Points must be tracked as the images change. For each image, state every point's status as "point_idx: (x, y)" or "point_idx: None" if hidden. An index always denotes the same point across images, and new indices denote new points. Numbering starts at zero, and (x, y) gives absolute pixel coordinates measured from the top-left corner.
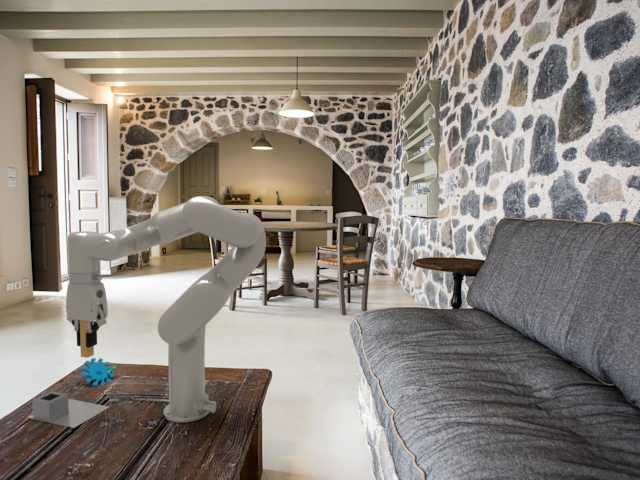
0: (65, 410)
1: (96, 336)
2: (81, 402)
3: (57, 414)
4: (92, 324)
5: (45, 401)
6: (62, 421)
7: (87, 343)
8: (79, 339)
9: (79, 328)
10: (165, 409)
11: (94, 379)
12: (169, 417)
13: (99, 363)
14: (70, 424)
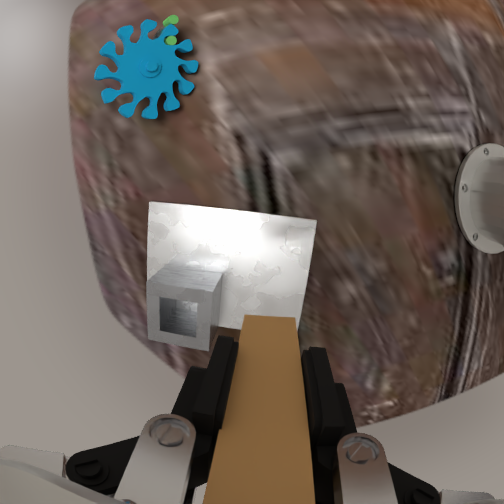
0: (220, 285)
1: (351, 412)
2: (214, 214)
3: (218, 309)
4: (312, 494)
5: (188, 342)
6: None
7: None
8: None
9: (195, 485)
10: (464, 216)
11: (158, 94)
12: (481, 250)
13: (131, 43)
14: None
